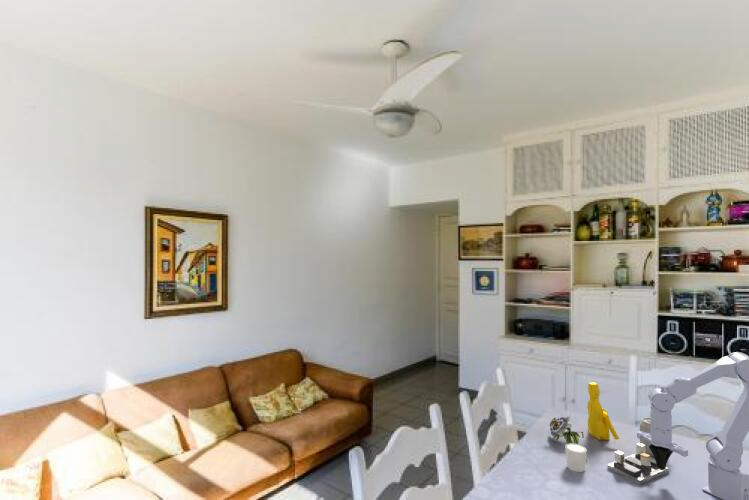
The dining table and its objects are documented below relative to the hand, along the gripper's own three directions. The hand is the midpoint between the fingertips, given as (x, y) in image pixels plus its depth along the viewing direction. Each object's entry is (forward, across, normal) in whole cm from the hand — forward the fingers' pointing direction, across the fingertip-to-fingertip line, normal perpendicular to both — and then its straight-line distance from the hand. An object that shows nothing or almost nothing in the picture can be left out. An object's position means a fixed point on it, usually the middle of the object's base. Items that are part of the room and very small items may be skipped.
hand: (661, 468), depth 132 cm
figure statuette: (+5, -30, +11) cm, 32 cm away
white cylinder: (+5, -19, -17) cm, 26 cm away
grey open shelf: (+4, -8, 0) cm, 9 cm away
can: (+5, -13, +17) cm, 22 cm away
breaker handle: (+1, -5, 0) cm, 5 cm away
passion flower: (+5, -34, -4) cm, 34 cm away
